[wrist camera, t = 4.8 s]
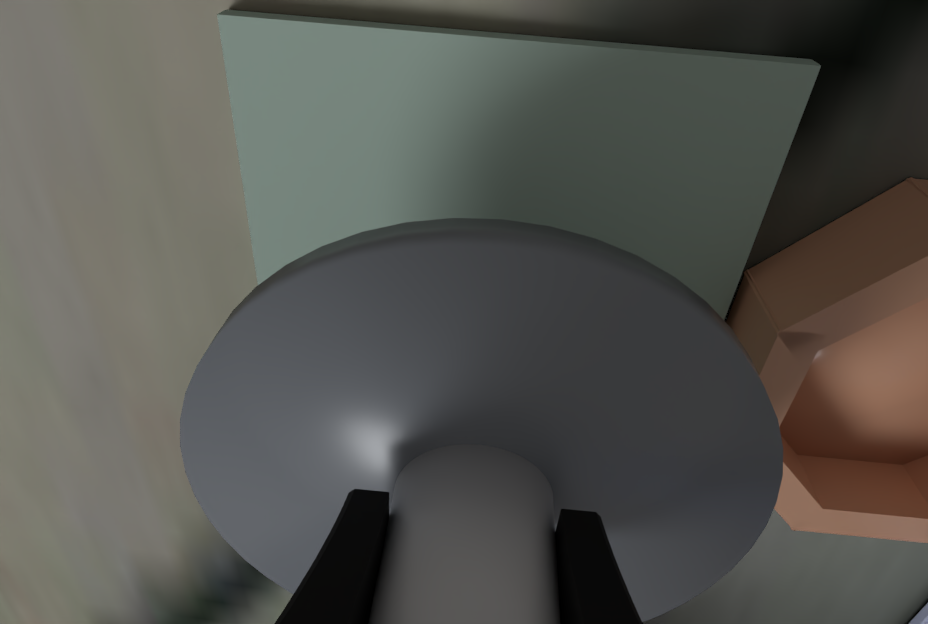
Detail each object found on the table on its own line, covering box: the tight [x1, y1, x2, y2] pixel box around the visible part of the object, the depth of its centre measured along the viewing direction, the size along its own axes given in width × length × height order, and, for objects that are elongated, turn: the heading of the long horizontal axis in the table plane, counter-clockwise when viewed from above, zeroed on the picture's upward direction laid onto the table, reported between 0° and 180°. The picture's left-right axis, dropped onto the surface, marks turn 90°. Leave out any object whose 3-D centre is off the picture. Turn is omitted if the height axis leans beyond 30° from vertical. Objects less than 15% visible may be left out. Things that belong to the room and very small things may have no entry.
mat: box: [217, 10, 821, 320], centre depth 17 cm, size 12×14×1 cm
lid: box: [180, 218, 783, 624], centre depth 11 cm, size 11×11×5 cm
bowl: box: [726, 177, 928, 543], centre depth 16 cm, size 10×10×2 cm
